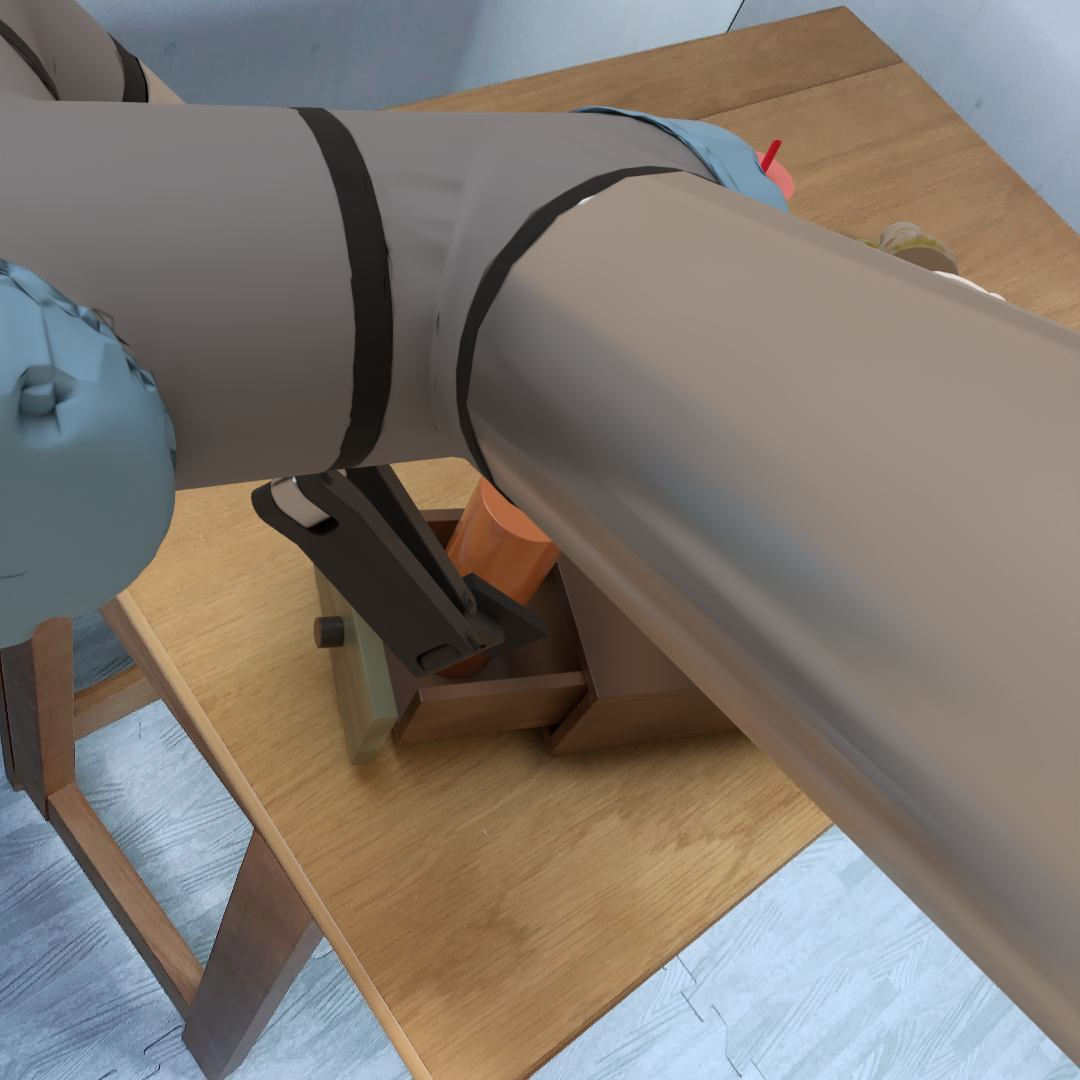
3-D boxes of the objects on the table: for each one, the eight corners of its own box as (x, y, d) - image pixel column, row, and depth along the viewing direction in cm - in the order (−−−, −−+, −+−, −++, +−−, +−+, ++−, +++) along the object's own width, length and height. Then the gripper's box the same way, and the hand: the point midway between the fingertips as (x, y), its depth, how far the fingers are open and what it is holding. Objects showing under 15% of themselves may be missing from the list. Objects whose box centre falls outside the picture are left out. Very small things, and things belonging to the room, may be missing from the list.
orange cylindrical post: (488, 688, 62) (579, 555, 51) (399, 664, 61) (472, 522, 50) (502, 611, 65) (590, 469, 54) (417, 586, 64) (489, 436, 53)
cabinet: (548, 756, 64) (598, 698, 58) (491, 545, 70) (530, 474, 64) (782, 724, 70) (849, 669, 64) (711, 533, 76) (765, 467, 70)
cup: (664, 245, 91) (734, 121, 81) (710, 231, 94) (782, 110, 84) (706, 294, 89) (782, 174, 80) (751, 278, 92) (830, 160, 83)
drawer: (327, 769, 58) (349, 723, 54) (289, 557, 64) (307, 499, 59) (604, 732, 64) (645, 688, 60) (548, 543, 70) (581, 490, 66)
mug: (921, 261, 102) (1004, 230, 92) (873, 351, 100) (953, 329, 90) (860, 209, 99) (938, 172, 90) (810, 300, 97) (885, 272, 88)
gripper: (33, 39, 41) (361, 330, 59) (85, 678, 29) (472, 798, 47) (202, -78, 39) (488, 261, 57) (328, 560, 27) (636, 732, 45)
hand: (481, 505), depth 52 cm, fingers open, 13 cm apart
